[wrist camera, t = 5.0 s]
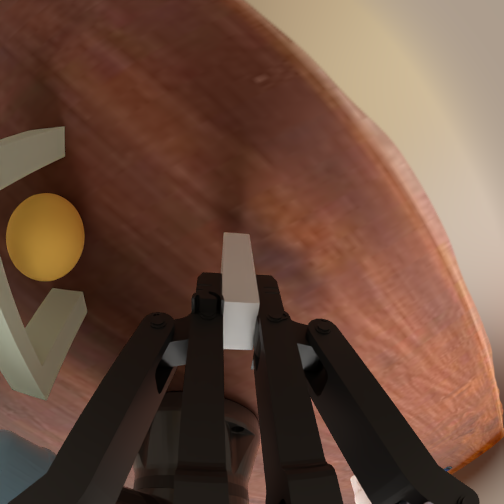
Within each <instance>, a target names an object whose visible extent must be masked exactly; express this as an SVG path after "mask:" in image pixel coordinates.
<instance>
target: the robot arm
mask: <svg viewBox="0 0 504 504" xmlns="http://www.w3.org/2000/svg"><path fill="white" fill-rule="evenodd" d="M253 344H254V355H253V361H252V366H251V369H254V375H255V385H256V395H257V405H258V415H259V424H258V420H257V418H256V417H255V415H254V414H253V413H252V412H251V411H249V410H248V409H247V408H245V407H243V406H242V405H240V404H238V403H235V402H233V401H230V400H227V399H224V360H223V349H235V350H252V349H253ZM185 364H186V366H185V376H184V386H183V392H168V393H166V390H167V388H168V386H169V384H170V382H171V380H172V378H173V375H174V373H175V371H176V369H177V366H180V365H185ZM310 397H311V398H310ZM311 399H312V401H313V402H314V404H315V406H316V408H317V409H318V411H319V413H320V415H321V417H322V418H323V420H324V422H325V424H326V426H327V427H328V429H329V431H330V433H331V434H332V436H333V438H334V440H335V441H336V443H337V445H338V447H339V449H340V450H341V452H342V454H343V456H344V457H345V459H346V461H347V463H348V464H349V466H350V468H351V470H352V471H353V473H354V475H355V476H356V478H357V480H358V482H359V483H360V485H361V487H362V489H363V490H364V492H365V494H366V495H367V497H368V499H369V500H370V502H371V503H372V504H479V498H478V495H477V494H476V493H475V491H473V490H472V489H471V488H469V487H468V486H467V485H465V484H464V483H462V482H461V481H459V480H458V479H456V478H455V477H454V476H452V475H451V474H449V473H448V472H447V471H445V470H444V469H442V468H441V467H440V466H438V465H437V463H436V462H435V460H434V459H433V457H432V456H431V455H430V453H429V452H428V450H427V449H426V448H425V446H424V445H423V443H422V442H421V440H420V439H419V438H418V436H417V435H416V433H415V432H414V431H413V429H412V428H411V427H410V425H409V424H408V422H407V421H406V420H405V418H404V417H403V415H402V414H401V413H400V411H399V410H398V409H397V407H396V406H395V404H394V403H393V402H392V400H391V399H390V398H389V396H388V395H387V394H386V392H385V391H384V389H383V388H382V387H381V385H380V384H379V383H378V381H377V380H376V379H375V377H374V376H373V375H372V373H371V372H370V371H369V369H368V368H367V366H366V365H365V364H364V362H363V361H362V360H361V358H360V357H359V356H358V354H357V353H356V352H355V350H354V349H353V348H352V346H351V345H350V344H349V342H348V341H347V340H346V338H345V337H344V336H343V335H342V333H341V332H340V331H339V329H338V328H337V327H336V325H334V324H333V323H332V322H330V321H328V320H325V319H314V320H312V321H311V322H310V323H309V324H308V325H304V324H300V323H297V322H294V321H292V320H291V318H290V316H289V314H288V313H286V312H285V311H284V308H283V304H282V300H281V296H280V292H279V289H278V284H277V281H276V280H275V279H274V278H273V277H272V276H269V275H255V268H254V261H253V255H252V248H251V242H250V235H249V234H241V233H227V232H224V235H223V248H222V262H221V273H205V272H203V273H202V274H201V275H200V276H199V277H198V280H197V287H196V293H194V294H193V296H192V313H191V314H190V315H188V316H187V317H184V318H181V319H175V320H173V318H172V317H171V316H170V315H168V314H165V313H160V312H157V313H152V314H149V315H147V316H146V317H145V318H144V319H143V320H142V322H141V323H140V325H139V326H138V328H137V329H136V331H135V332H134V333H133V335H132V336H131V338H130V339H129V341H128V342H127V344H126V345H125V347H124V348H123V350H122V351H121V353H120V354H119V356H118V357H117V359H116V360H115V362H114V363H113V365H112V366H111V368H110V369H109V371H108V373H107V374H106V376H105V377H104V379H103V380H102V382H101V383H100V385H99V387H98V388H97V390H96V391H95V393H94V394H93V396H92V398H91V399H90V401H89V402H88V404H87V406H86V407H85V409H84V410H83V412H82V414H81V415H80V417H79V418H78V420H77V422H76V423H75V425H74V427H73V428H72V430H71V432H70V433H69V435H68V437H67V438H66V440H65V442H64V443H63V445H62V447H61V449H60V450H59V452H58V454H57V455H56V454H55V453H54V452H52V451H51V450H49V449H47V448H43V447H39V446H37V445H35V444H33V443H32V442H30V441H28V440H26V439H24V438H23V437H21V436H19V435H17V434H16V433H14V432H12V431H9V430H0V504H249V497H248V482H249V479H250V475H251V472H252V469H253V465H254V462H255V458H256V455H257V451H258V448H259V444H260V434H261V444H262V453H263V463H264V472H265V481H266V504H343V501H342V496H341V492H340V488H339V483H338V479H337V475H336V472H335V469H334V468H333V466H332V465H330V464H328V463H327V462H326V460H325V457H324V453H323V448H322V444H321V440H320V436H319V431H318V427H317V423H316V419H315V415H314V410H313V406H312V402H311ZM259 425H260V433H259ZM132 465H133V468H134V472H135V480H134V489H131V488H128V487H125V486H123V485H124V483H125V481H126V479H127V476H128V474H129V472H130V470H131V467H132Z"/></svg>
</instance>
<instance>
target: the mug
mask: <svg viewBox="0 0 504 504" xmlns="http://www.w3.org/2000/svg"><path fill="white" fill-rule="evenodd" d="M350 480H351V483H352V487H353V490H354V493H355V502H356V504H372V503H371V502H370V500H369V499H368V497H367V495H366V494H365V492H364V490H363V489H362V487H361V485H360V483H359V482H358V480H357V478H356V476H355V475H353V476H352V477H351V479H350Z"/></svg>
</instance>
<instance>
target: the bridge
mask: <svg viewBox="0 0 504 504" xmlns="http://www.w3.org/2000/svg"><path fill="white" fill-rule="evenodd" d="M63 157H65V126H64V127H54V128H44V129H36V130H29V131H26V132H22V133H19V134H16V135H13V136H9V137H6V138H3V139H0V190H2V189H3V188H5V187H7V186H9V185H10V184H12V183H14V182H16V181H17V180H19V179H21V178H23V177H25V176H27V175H29V174H30V173H32V172H34V171H36V170H38V169H40V168H42V167H44V166H46V165H48V164H50V163H52V162H54V161H56V160H59V159H61V158H63ZM87 312H88V311H87V307H86V303H85V299H84V295H83V292H80V291H72V290H64V289H56V288H52V289H51V291H50V292H49V293H48V295H47V296H46V298H45V299H44V300H43V302H42V303H41V305H40V306H39V308H38V309H37V311H36V312H35V314H34V315H33V317H32V318H31V320H30V321H29V323H28V324H27V326H26V328H24V325H23V323H22V320H21V318H20V315H19V313H18V310H17V307H16V304H15V302H14V299H13V296H12V293H11V290H10V287H9V284H8V281H7V277H6V274H5V271H4V267H3V264H2V260H1V256H0V370H1V372H2V374H3V376H4V377H5V379H6V380H7V382H8V384H9V385H10V387H11V388H12V390H15V391H18V392H21V393H24V394H27V395H30V396H33V397H36V398H40V399H43V400H47V399H48V396H49V394H50V391H51V389H52V386H53V384H54V382H55V379H56V377H57V375H58V372H59V370H60V368H61V366H62V363H63V361H64V359H65V357H66V355H67V352H68V350H69V348H70V346H71V344H72V342H73V340H74V338H75V336H76V334H77V332H78V330H79V328H80V326H81V324H82V322H83V320H84V318H85V316H86V314H87Z"/></svg>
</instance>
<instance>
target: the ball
mask: <svg viewBox="0 0 504 504" xmlns="http://www.w3.org/2000/svg"><path fill="white" fill-rule="evenodd" d="M84 237H85V235H84V227H83V223H82V219H81V217H80V215H79V213H78V211H77V210H76V208H75V207H74V206H73V205H72V204H71V203H70V202H69V201H68V200H66V199H65V198H63V197H61V196H59V195H56V194H52V193H40V194H36V195H33V196H31V197H29V198H27V199H25V200H24V201H23V202H22V203H20V204H19V205H18V207H17V208H16V209H15V210H14V212H13V214H12V215H11V217H10V220H9V222H8V226H7V231H6V245H7V250H8V253H9V256H10V258H11V260H12V262H13V264H14V265H15V267H16V268H17V269H18V270H19V271H20V272H21V273H22V274H24V275H25V276H27V277H29V278H31V279H34V280H37V281H53V280H56V279H58V278H61V277H63V276H64V275H66V274H67V273H68V272H69V271H71V270H72V268H73V267H74V266H75V265H76V263H77V262H78V260H79V258H80V256H81V254H82V251H83V247H84Z"/></svg>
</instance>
